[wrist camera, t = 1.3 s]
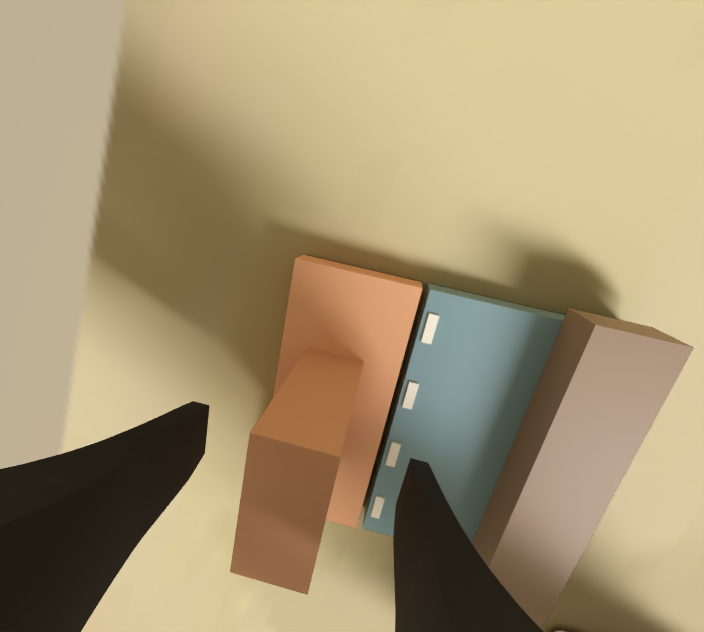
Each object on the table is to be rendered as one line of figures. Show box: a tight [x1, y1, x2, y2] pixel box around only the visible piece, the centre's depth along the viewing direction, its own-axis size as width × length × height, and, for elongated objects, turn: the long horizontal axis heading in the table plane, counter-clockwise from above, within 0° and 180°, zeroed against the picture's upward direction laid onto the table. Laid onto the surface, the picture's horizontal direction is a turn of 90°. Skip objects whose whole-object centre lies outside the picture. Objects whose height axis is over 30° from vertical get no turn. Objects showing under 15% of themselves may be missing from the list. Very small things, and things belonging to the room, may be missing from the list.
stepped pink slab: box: [230, 255, 423, 594], centre depth 14 cm, size 5×12×7 cm, turn 168°
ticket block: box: [363, 283, 694, 629], centre depth 15 cm, size 8×13×3 cm, turn 168°
